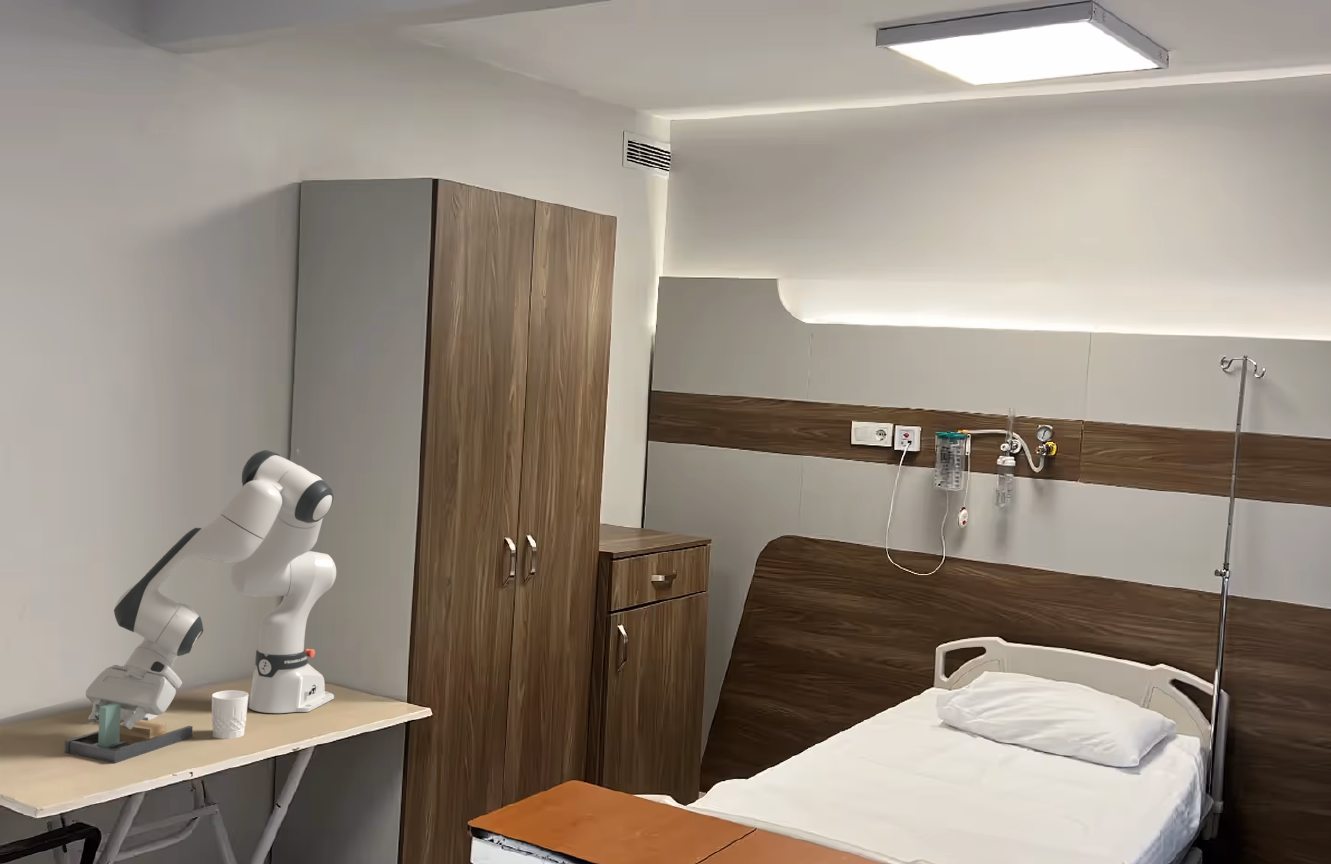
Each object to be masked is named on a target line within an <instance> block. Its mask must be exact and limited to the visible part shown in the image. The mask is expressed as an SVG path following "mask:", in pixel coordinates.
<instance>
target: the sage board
mask: <svg viewBox="0 0 1331 864" xmlns="http://www.w3.org/2000/svg"><path fill="white" fill-rule="evenodd" d="M120 714H121V704H118V703H112V704H109V705H105V706H101V707H100V711H99V722H98V731H99V737H98V746H101V747H106V746H109V745H112V744H116V743H119V739H120V723H121V720H120Z"/></svg>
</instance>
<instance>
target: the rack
mask: <svg viewBox="0 0 1331 864" xmlns="http://www.w3.org/2000/svg"><path fill="white" fill-rule="evenodd" d="M141 720H146V721H149V720H148V718H147V717H144V718H143V719H141ZM167 732H168V731H167ZM98 737H99V730H97V731H94V732H91V733H87V734H84V735H80V736H77V737H73V738H70V739H67V740H65V742H64V753H65V754H68V755H69V754H70V755H74V756H78V757H84V758H88V759H92V760H97V761H102V762H107V763H112V764H117V763H121V762H124V761H127V760H130V759H132V758H136V757H138V756H141V755H145V754H147V753H150V752H154V751H156V750H159V749H163V748H165V747H168V746H171V745H174V744H177V743H180V742H183V741H186V740H188V739H192V738H193V726H192V725H187V726H184V727H181V728H177V729H175V730H172V731H169V732H168V733H165V734H162V735H159V736H156V737H153V738H149V739H146V740H143V741H140V742H137V743H134V744H131V745H129V744H127V742H125V741H122V742H119V743H116V744H112V745H109V746H106V747H101V746H98Z"/></svg>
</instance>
